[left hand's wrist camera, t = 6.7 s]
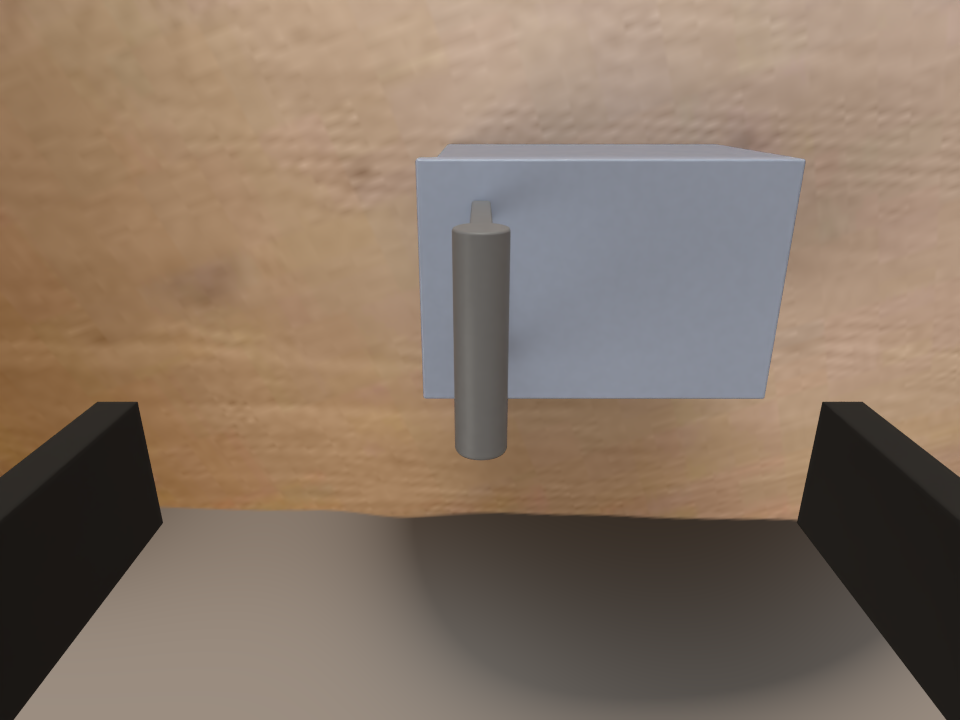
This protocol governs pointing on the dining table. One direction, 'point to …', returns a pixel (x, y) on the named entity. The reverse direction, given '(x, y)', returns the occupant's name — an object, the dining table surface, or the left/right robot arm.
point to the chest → (598, 150)
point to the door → (598, 280)
